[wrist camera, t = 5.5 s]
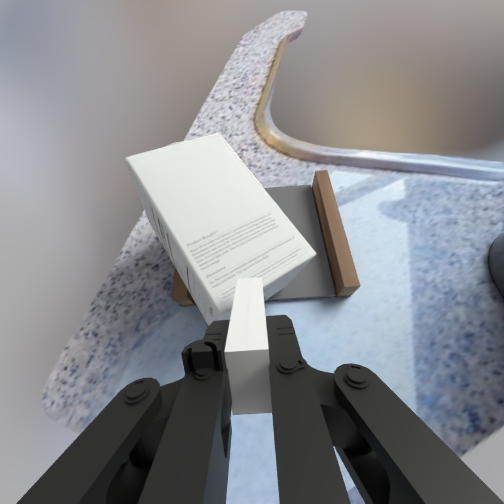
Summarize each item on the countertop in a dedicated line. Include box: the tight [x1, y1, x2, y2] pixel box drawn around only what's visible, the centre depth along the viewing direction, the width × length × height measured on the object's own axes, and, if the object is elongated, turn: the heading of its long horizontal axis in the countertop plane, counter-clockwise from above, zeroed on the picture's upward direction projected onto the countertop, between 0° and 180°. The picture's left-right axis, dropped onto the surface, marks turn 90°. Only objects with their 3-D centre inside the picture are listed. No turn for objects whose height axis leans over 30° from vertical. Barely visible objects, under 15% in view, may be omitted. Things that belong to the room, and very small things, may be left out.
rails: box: [172, 170, 360, 306], centre depth 28 cm, size 18×16×3 cm
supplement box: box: [125, 133, 316, 326], centre depth 22 cm, size 9×9×15 cm
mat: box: [264, 185, 336, 301], centre depth 29 cm, size 15×16×1 cm
